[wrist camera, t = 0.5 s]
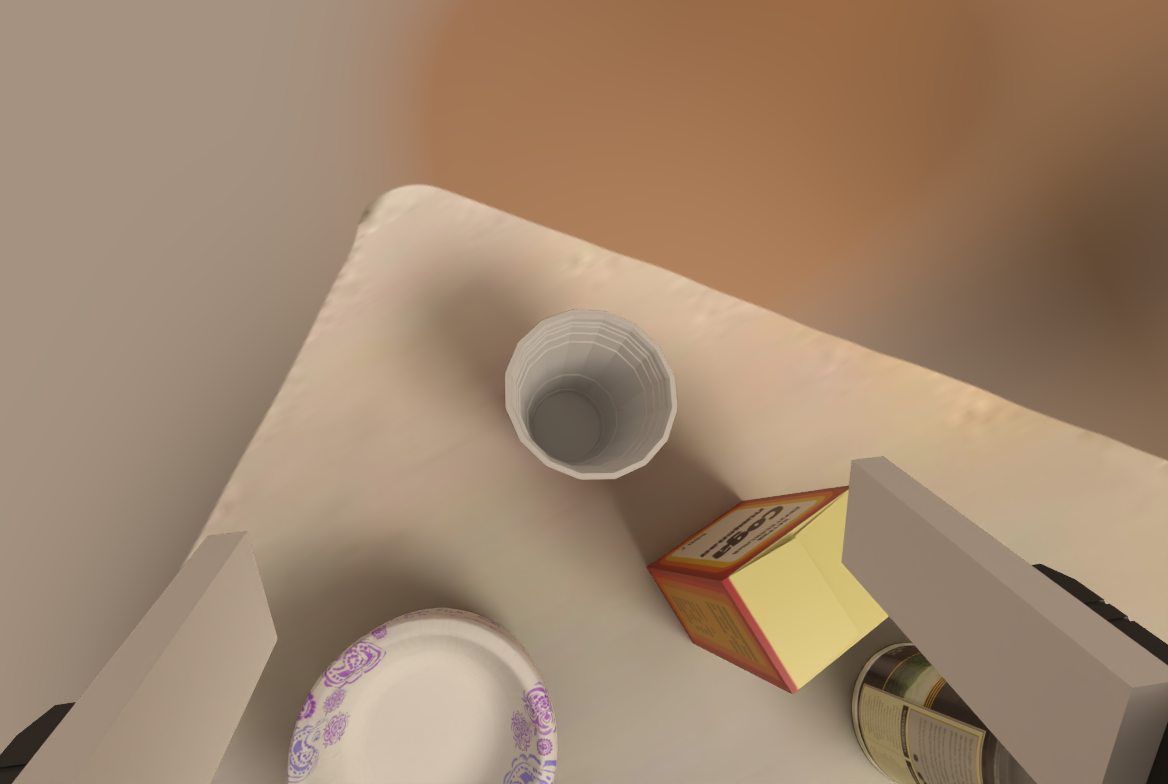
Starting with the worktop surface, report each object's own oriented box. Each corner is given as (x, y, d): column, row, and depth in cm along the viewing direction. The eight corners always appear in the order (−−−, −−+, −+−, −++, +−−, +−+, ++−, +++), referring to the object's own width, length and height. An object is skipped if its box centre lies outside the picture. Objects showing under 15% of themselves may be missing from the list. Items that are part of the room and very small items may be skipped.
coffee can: (877, 617, 49) (1027, 647, 35) (989, 682, 49) (1180, 737, 35) (829, 746, 46) (971, 833, 32) (947, 814, 46) (1138, 929, 33)
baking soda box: (742, 500, 49) (858, 484, 34) (789, 572, 49) (928, 588, 33) (646, 567, 47) (724, 581, 32) (693, 643, 46) (796, 696, 31)
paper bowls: (345, 592, 44) (315, 604, 36) (558, 613, 45) (573, 628, 38) (297, 838, 40) (252, 910, 32) (532, 850, 42) (542, 921, 34)
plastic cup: (662, 442, 49) (716, 413, 38) (552, 523, 47) (574, 518, 35) (584, 334, 51) (612, 273, 39) (472, 406, 48) (467, 365, 36)
